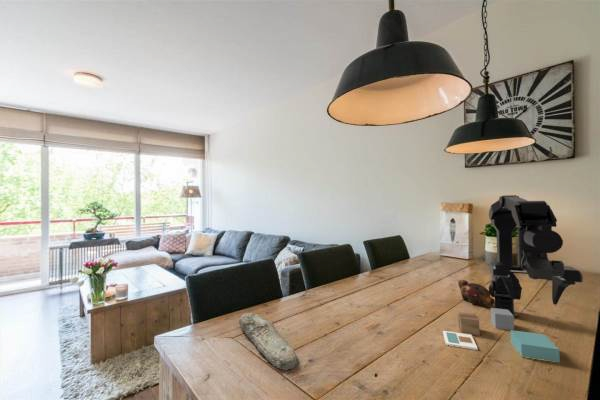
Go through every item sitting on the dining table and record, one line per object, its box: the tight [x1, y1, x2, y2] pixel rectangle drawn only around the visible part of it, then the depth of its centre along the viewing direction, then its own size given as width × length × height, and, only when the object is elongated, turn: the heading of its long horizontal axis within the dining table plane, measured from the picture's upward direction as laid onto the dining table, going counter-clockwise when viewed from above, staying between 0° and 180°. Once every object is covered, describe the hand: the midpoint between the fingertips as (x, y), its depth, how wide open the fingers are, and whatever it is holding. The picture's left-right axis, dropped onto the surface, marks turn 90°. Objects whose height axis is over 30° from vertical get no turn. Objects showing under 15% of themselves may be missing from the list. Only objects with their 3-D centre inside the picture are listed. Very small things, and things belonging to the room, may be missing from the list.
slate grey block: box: [490, 307, 515, 331], centre depth 89 cm, size 5×5×5 cm
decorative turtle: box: [457, 279, 495, 306], centre depth 110 cm, size 10×15×8 cm, turn 22°
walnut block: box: [457, 311, 480, 337], centre depth 87 cm, size 5×5×5 cm
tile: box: [442, 330, 479, 351], centre depth 81 cm, size 8×8×1 cm
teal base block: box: [510, 330, 561, 363], centre depth 74 cm, size 8×8×4 cm
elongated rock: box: [238, 312, 298, 371], centre depth 84 cm, size 35×5×10 cm
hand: (532, 301), depth 74 cm, fingers open, 9 cm apart
